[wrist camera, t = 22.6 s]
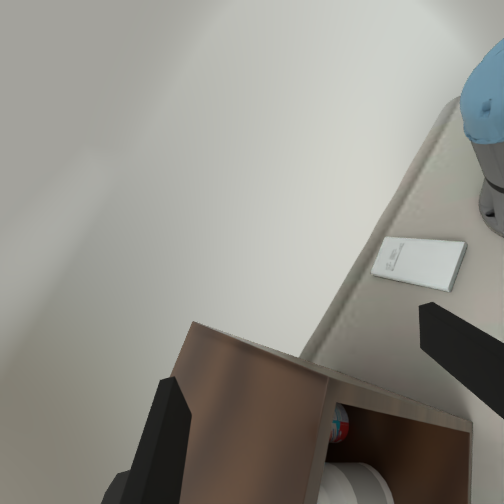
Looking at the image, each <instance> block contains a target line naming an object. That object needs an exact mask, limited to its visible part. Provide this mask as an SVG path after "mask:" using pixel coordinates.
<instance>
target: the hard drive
mask: <svg viewBox="0 0 504 504" xmlns="http://www.w3.org/2000/svg"><path fill="white" fill-rule="evenodd" d="M466 249H467V244H466V242H461V241H446V240H431V239H415V238H400V237H385V238H384V241H383V243H382V246H381V248H380V250H379V253H378V255H377V258H376V260H375V262H374V265H373V267H372V269H371V274H372V275H373V276H378V277H382V278H387V279H391V280H396V281H400V282H405V283H410V284H415V285H419V286H424V287H428V288H433V289H437V290H442V291H447V292H451V290H452V288H453V285H454V282H455V279H456V277H457V274H458V271H459V268H460V265H461V262H462V260H463V257H464V254H465V251H466Z"/></svg>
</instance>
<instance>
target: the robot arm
mask: <svg viewBox="0 0 504 504" xmlns="http://www.w3.org/2000/svg"><path fill="white" fill-rule="evenodd" d="M460 110H461V114H462V117H463V121H464V132H465V135H466V137H468V138H469V140H470V141H471V143H472V146H473V148H474V151H475V153H476V156H477V158H478V161H479V163H480V166H481V169H482V171H483V174H484V176H485V179H484V183H483V186H482V190H481V193H480V197H479V210H480V213H481V215H482V217H483V219H484V221H485V223H486V224H487V226H488V227H489V228H490V229H491V230H492V231H494V232H495V233H497V234H498V235H500V236H502V237H504V38H503V39H502V40H501V41H500V42H499V43H497V44H496V45H495V46H494V47H493V48H492V49H491V50H490V51H489V52H488V53H487V55H486V56H485V57H484V58H483V60H482V61H481V63H480V64H479V65H478V66H477V67H476V68H475V69H474V70H473V72H472V73H471V75H470V76H469V78H468V80H467V81H466V83H465V85H464V88H463V90H462V93H461V97H460ZM419 324H420V348H421V349H422V350H423V351H425V352H426V353H427V354H428V355H429V356H430V357H432V358H433V359H434V360H435V361H436V362H437V363H439V364H440V365H441V366H442V367H443V368H444V369H446V370H447V371H448V372H449V373H450V374H451V375H453V376H454V377H455V378H456V379H457V380H458V381H460V382H461V383H462V384H463V385H464V386H465V387H467V388H468V389H469V390H470V391H471V392H472V393H474V394H475V395H476V396H477V397H478V398H479V399H481V400H482V401H483V402H484V403H485V404H486V405H488V406H489V407H490V408H491V409H492V410H493V411H495V412H496V413H497V414H498V415H499V416H500V417H502V418H503V419H504V343H502V342H501V341H499V340H497V339H495V338H494V337H492V336H490V335H489V334H487V333H485V332H483V331H482V330H480V329H478V328H477V327H475V326H473V325H471V324H470V323H468V322H466V321H465V320H463V319H461V318H459V317H458V316H456V315H454V314H452V313H451V312H449V311H447V310H446V309H444V308H442V307H440V306H439V305H437V304H435V303H434V302H430V303H427V304H423V305H420V306H419ZM191 419H192V413H191V411H190V409H189V407H188V404H187V402H186V400H185V398H184V396H183V393H182V391H181V389H180V387H179V384H178V382H177V380H176V378H175V376H173V377H169V378H166V379H162V380H160V382H159V385H158V388H157V391H156V394H155V397H154V400H153V403H152V406H151V409H150V412H149V415H148V418H147V421H146V424H145V427H144V430H143V433H142V436H141V439H140V442H139V446H138V449H137V451H136V454H135V458H134V460H133V463H132V466H131V469H130V470H128V471H125V472H121V473H118V474H117V475H116V477H115V478H114V480H113V481H112V483H111V484H110V486H109V488H108V489H107V491H106V492H105V495H104V498H103V500H102V502H101V504H179V502H180V495H181V488H182V481H183V474H184V468H185V461H186V454H187V447H188V440H189V433H190V426H191Z"/></svg>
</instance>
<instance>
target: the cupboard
mask: <svg viewBox="0 0 504 504" xmlns="http://www.w3.org/2000/svg"><path fill="white" fill-rule="evenodd" d="M173 376H175V378H176V380H177V382H178V384H179V387H180V389H181V391H182V393H183V396H184V398H185V400H186V402H187V404H188V407H189V409H190V411H191V413H192V419H191V426H190V433H189V440H188V447H187V454H186V461H185V468H184V474H183V481H182V488H181V495H180V502H179V504H317V500H318V495H319V490H320V485H321V480H322V474H323V469H324V464H325V463H365V464H368V465H370V466H372V467H373V468H374V469H375V470H377V471H378V472H379V473H380V475H381V476H382V477H383V479H384V480H385V481H386V483H387V485H388V487H389V489H390V491H391V494H392V497H393V501H394V504H471V474H472V434H473V422H471V421H468V420H465V419H463V418H460V417H457V416H455V415H452V414H449V413H447V412H444V411H441V410H439V409H436V408H433V407H431V406H428V405H425V404H423V403H420V402H417V401H415V400H412V399H409V398H407V397H404V396H401V395H399V394H396V393H393V392H391V391H388V390H385V389H383V388H380V387H377V386H375V385H372V384H369V383H367V382H364V381H361V380H359V379H356V378H353V377H351V376H348V375H345V374H343V373H340V372H337V371H335V370H332V369H329V368H326V367H323V366H320V365H317V364H315V363H312V362H309V361H306V360H303V359H300V358H297V357H294V356H292V355H289V354H286V353H283V352H280V351H277V350H274V349H271V348H269V347H266V346H263V345H260V344H257V343H254V342H251V341H249V340H246V339H242V338H240V337H237V336H234V335H231V334H228V333H225V332H223V331H220V330H217V329H214V328H211V327H208V326H205V325H203V324H200V323H197V322H194V321H193V322H192V324H191V327H190V329H189V331H188V334H187V336H186V339H185V341H184V344H183V346H182V348H181V351H180V353H179V356H178V358H177V361H176V363H175V366H174V368H173V371H172V373H171V375H170V377H173ZM336 402H337V403H340V404H341V405H342V406H343V407H344V409H345V411H346V413H347V416H348V420H349V430H348V433H347V436H346V437H345V439H344V440H343V441H341V442H339V443H329V438H330V433H331V428H332V422H333V417H334V412H335V407H336Z"/></svg>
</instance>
